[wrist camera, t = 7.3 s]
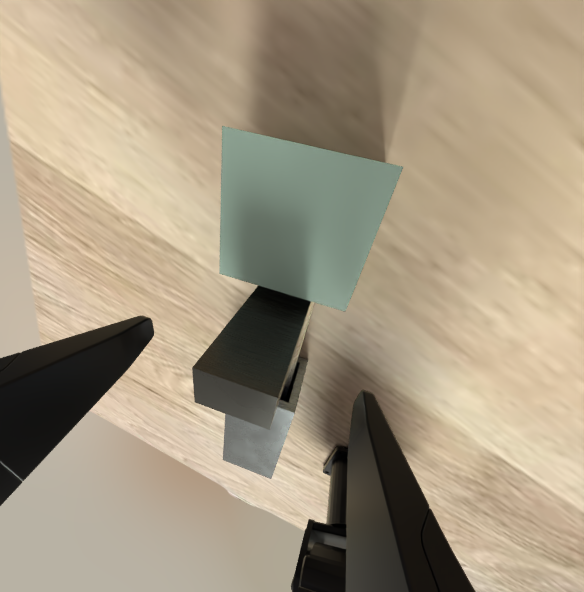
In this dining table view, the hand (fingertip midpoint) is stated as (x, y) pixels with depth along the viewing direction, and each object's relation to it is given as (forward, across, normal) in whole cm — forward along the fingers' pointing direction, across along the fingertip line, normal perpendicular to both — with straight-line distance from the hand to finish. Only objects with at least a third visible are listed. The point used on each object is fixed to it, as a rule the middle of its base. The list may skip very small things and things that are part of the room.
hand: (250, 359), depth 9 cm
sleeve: (+9, 0, +13) cm, 16 cm away
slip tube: (+8, 0, +4) cm, 9 cm away
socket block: (+9, 0, -4) cm, 10 cm away
